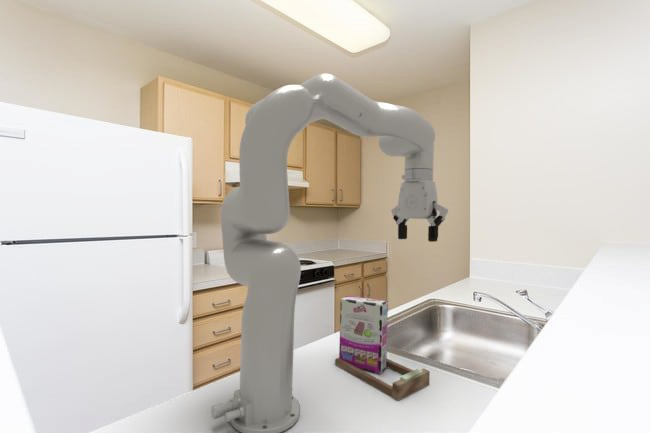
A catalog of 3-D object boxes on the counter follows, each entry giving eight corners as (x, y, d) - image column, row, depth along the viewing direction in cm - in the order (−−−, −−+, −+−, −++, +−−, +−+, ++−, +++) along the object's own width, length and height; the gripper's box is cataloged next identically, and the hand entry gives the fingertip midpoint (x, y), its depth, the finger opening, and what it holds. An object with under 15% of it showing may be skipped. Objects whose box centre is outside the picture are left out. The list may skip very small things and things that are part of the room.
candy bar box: (387, 367, 79) (389, 300, 80) (380, 375, 75) (382, 304, 75) (346, 356, 85) (348, 294, 85) (337, 363, 81) (339, 298, 81)
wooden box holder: (398, 400, 64) (398, 382, 65) (335, 365, 80) (335, 350, 80) (429, 384, 71) (429, 368, 71) (365, 354, 86) (366, 341, 87)
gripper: (384, 178, 92) (383, 238, 92) (439, 172, 78) (437, 242, 78) (401, 181, 97) (400, 238, 96) (455, 176, 83) (454, 242, 83)
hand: (417, 240), depth 87 cm, fingers open, 9 cm apart
